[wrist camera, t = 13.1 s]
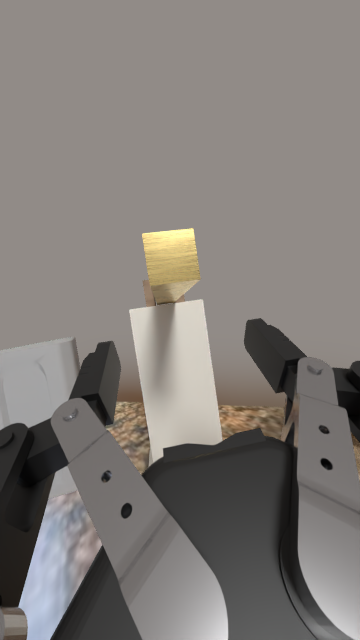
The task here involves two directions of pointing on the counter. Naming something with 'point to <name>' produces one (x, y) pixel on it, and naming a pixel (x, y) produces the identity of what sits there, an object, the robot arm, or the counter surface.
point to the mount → (175, 373)
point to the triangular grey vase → (38, 389)
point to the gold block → (171, 263)
